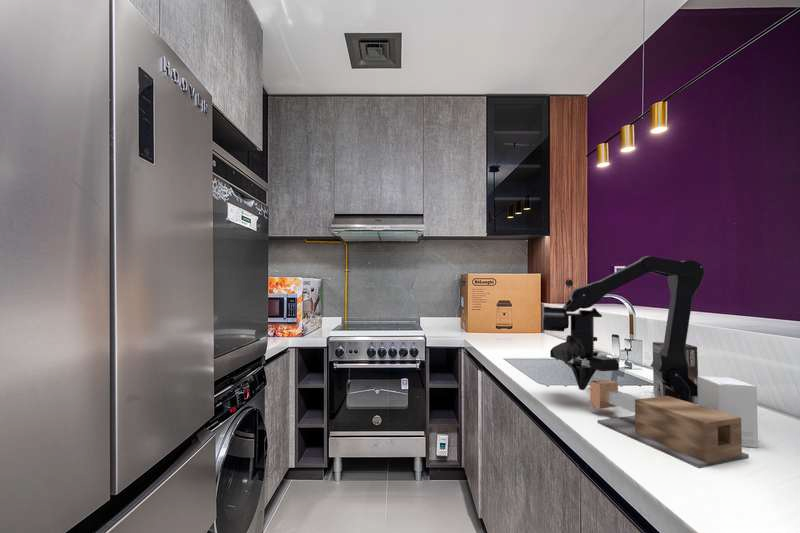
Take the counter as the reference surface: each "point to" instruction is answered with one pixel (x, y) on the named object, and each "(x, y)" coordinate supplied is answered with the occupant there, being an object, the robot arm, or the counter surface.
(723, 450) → the housing
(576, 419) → the counter surface
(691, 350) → the coffee box
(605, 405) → the shaft
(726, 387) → the supplement box
